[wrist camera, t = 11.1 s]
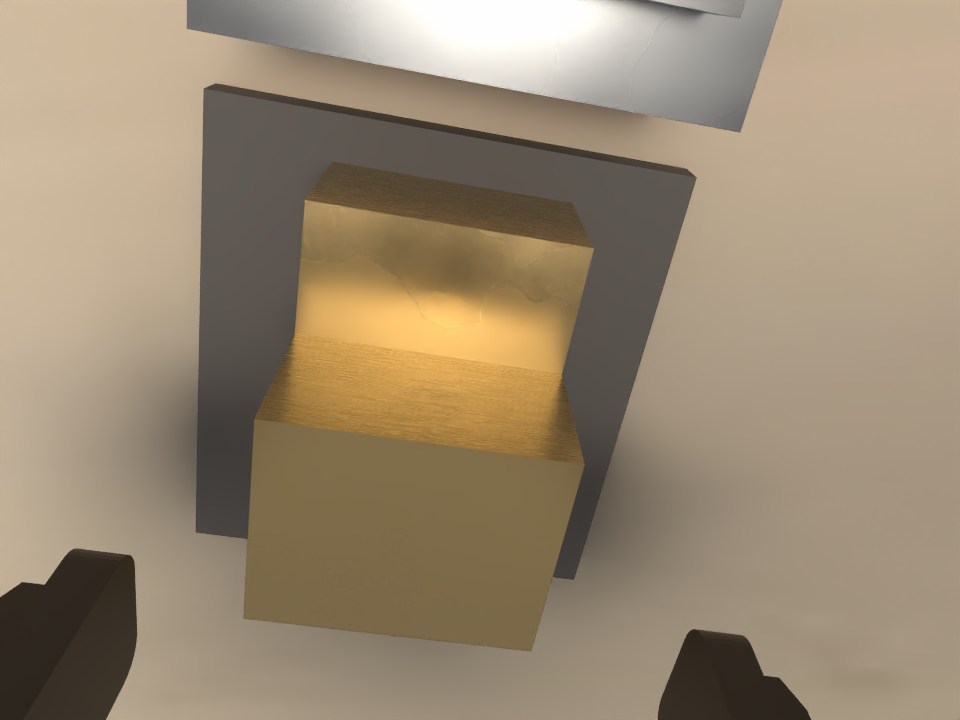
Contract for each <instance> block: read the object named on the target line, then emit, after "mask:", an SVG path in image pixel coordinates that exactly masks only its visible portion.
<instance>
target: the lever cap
mask: <svg viewBox="0 0 960 720" xmlns="http://www.w3.org/2000/svg"><path fill="white" fill-rule="evenodd" d="M593 251H594V247H593V245H592V243H591V241H590V239H589V237H588V235H587V233H586V231H585V229H584V226H583V224H582V222H581V220H580V218H579V216H578V214H577V212H576V210H575V208H574V206H573V204H572V203H569V202H564V201H558V200H552V199H546V198H541V197H535V196H529V195H523V194H517V193H512V192H506V191H500V190H494V189H488V188H483V187H477V186H471V185H465V184H459V183H454V182H448V181H442V180H436V179H431V178H425V177H419V176H413V175H407V174H402V173H396V172H390V171H384V170H378V169H373V168H367V167H361V166H355V165H349V164H344V163H338V162H332V163H331V164H330V166H329V167H328V168H327V170H326V171H325V173H324V174H323V175H322V177H321V178H320V180H319V181H318V183H317V184H316V185H315V187H314V188H313V190H312V191H311V192H310V194H309V195H308V197H307V198H306V199H305V206H304V219H303V232H302V245H301V258H300V271H299V284H298V297H297V310H296V323H295V334H294V336H293V338H292V340H291V343H290V345H289V347H288V349H287V351H286V353H285V355H284V357H283V359H282V362H281V364H280V366H279V368H278V370H277V372H276V374H275V376H274V378H273V381H272V383H271V385H270V387H269V389H268V391H267V393H266V395H265V397H264V400H263V402H262V404H261V406H260V408H259V410H258V412H257V414H256V416H255V419H254V435H253V453H252V471H251V490H250V508H249V527H248V545H247V564H246V582H245V601H244V619H253V620H261V621H270V622H279V623H288V624H296V625H305V626H314V627H323V628H331V629H340V630H349V631H357V632H366V633H375V634H384V635H392V636H401V637H410V638H419V639H427V640H436V641H445V642H454V643H462V644H471V645H480V646H489V647H497V648H506V649H515V650H524V651H532V647H533V644H534V640H535V637H536V633H537V630H538V626H539V623H540V619H541V616H542V612H543V609H544V605H545V602H546V598H547V595H548V591H549V588H550V584H551V581H552V577H553V574H554V570H555V567H556V563H557V560H558V556H559V553H560V549H561V546H562V542H563V539H564V536H565V532H566V529H567V525H568V522H569V518H570V515H571V511H572V508H573V504H574V501H575V497H576V494H577V490H578V487H579V483H580V480H581V476H582V473H583V469H584V466H585V464H584V460H583V456H582V452H581V448H580V444H579V440H578V436H577V432H576V428H575V424H574V420H573V416H572V412H571V408H570V404H569V400H568V396H567V392H566V387H565V383H564V379H563V375H562V373H563V369H564V365H565V361H566V357H567V353H568V349H569V345H570V341H571V337H572V333H573V329H574V325H575V321H576V318H577V314H578V310H579V306H580V302H581V298H582V294H583V290H584V286H585V282H586V278H587V274H588V270H589V266H590V263H591V259H592V255H593Z"/></svg>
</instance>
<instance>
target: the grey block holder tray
mask: <svg viewBox="0 0 960 720" xmlns="http://www.w3.org/2000/svg"><path fill="white" fill-rule="evenodd" d="M782 1H783V0H187V29H191V30H197V31H202V32H207V33H213V34H218V35H223V36H229V37H234V38H239V39H245V40H250V41H255V42H261V43H266V44H271V45H277V46H282V47H287V48H293V49H298V50H303V51H308V52H314V53H319V54H324V55H330V56H335V57H340V58H346V59H351V60H356V61H362V62H367V63H372V64H378V65H383V66H388V67H394V68H399V69H404V70H410V71H415V72H420V73H426V74H431V75H436V76H442V77H447V78H452V79H458V80H463V81H468V82H474V83H479V84H484V85H490V86H495V87H500V88H506V89H511V90H516V91H522V92H527V93H532V94H538V95H543V96H548V97H554V98H559V99H564V100H570V101H575V102H580V103H586V104H591V105H596V106H602V107H607V108H612V109H618V110H623V111H628V112H634V113H639V114H644V115H650V116H655V117H660V118H666V119H671V120H676V121H682V122H687V123H692V124H698V125H703V126H708V127H714V128H719V129H724V130H730V131H735V132H740V131H741V128H742V125H743V122H744V119H745V116H746V113H747V110H748V106H749V103H750V100H751V97H752V94H753V91H754V88H755V85H756V82H757V79H758V75H759V72H760V69H761V66H762V63H763V60H764V57H765V54H766V51H767V48H768V44H769V41H770V38H771V35H772V32H773V29H774V26H775V23H776V20H777V17H778V13H779V10H780V7H781V4H782Z"/></svg>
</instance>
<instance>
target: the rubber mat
mask: <svg viewBox="0 0 960 720" xmlns="http://www.w3.org/2000/svg"><path fill="white" fill-rule="evenodd" d="M332 162H338V163H344V164H349V165H355V166H361V167H367V168H373V169H378V170H384V171H390V172H396V173H402V174H407V175H413V176H419V177H425V178H431V179H436V180H442V181H448V182H454V183H459V184H465V185H471V186H477V187H483V188H488V189H494V190H500V191H506V192H512V193H517V194H523V195H529V196H535V197H541V198H546V199H552V200H558V201H564V202H569V203H572V204H573V206H574V208H575V210H576V212H577V214H578V216H579V218H580V220H581V222H582V224H583V226H584V229H585V231H586V233H587V235H588V237H589V239H590V241H591V243H592V245H593V247H594V251H593V255H592V259H591V263H590V266H589V270H588V274H587V278H586V282H585V286H584V290H583V294H582V298H581V302H580V306H579V310H578V314H577V318H576V321H575V325H574V329H573V333H572V337H571V341H570V345H569V349H568V353H567V357H566V361H565V365H564V369H563V373H562V375H563V379H564V383H565V387H566V392H567V396H568V400H569V404H570V408H571V412H572V416H573V420H574V424H575V428H576V432H577V436H578V440H579V444H580V448H581V452H582V456H583V460H584V464H585V466H584V469H583V473H582V476H581V480H580V483H579V487H578V490H577V494H576V497H575V501H574V504H573V508H572V511H571V515H570V518H569V522H568V525H567V529H566V532H565V536H564V539H563V542H562V546H561V549H560V553H559V556H558V560H557V563H556V567H555V570H554V574H553V577H556V578H564V579H572V580H574V577H575V574H576V571H577V568H578V564H579V561H580V558H581V555H582V551H583V548H584V545H585V541H586V538H587V535H588V532H589V528H590V525H591V522H592V519H593V515H594V512H595V509H596V505H597V502H598V499H599V496H600V492H601V489H602V486H603V483H604V479H605V476H606V473H607V469H608V466H609V463H610V460H611V456H612V453H613V450H614V447H615V443H616V440H617V437H618V433H619V430H620V427H621V424H622V420H623V417H624V414H625V411H626V407H627V404H628V401H629V397H630V394H631V391H632V388H633V384H634V381H635V378H636V375H637V371H638V368H639V365H640V361H641V358H642V355H643V352H644V348H645V345H646V342H647V339H648V335H649V332H650V329H651V325H652V322H653V319H654V316H655V312H656V309H657V306H658V303H659V299H660V296H661V293H662V289H663V286H664V283H665V280H666V276H667V273H668V270H669V267H670V263H671V260H672V257H673V253H674V250H675V247H676V244H677V240H678V237H679V234H680V231H681V227H682V224H683V221H684V217H685V214H686V211H687V208H688V204H689V201H690V198H691V194H692V191H693V188H694V185H695V181H696V177H695V176H694V175H693V174H692V173H691V172H689V171H688V170H687V169H684V168H678V167H673V166H667V165H662V164H656V163H650V162H645V161H639V160H634V159H628V158H623V157H617V156H612V155H606V154H601V153H595V152H590V151H584V150H579V149H573V148H568V147H562V146H557V145H551V144H546V143H540V142H535V141H529V140H524V139H518V138H513V137H507V136H502V135H496V134H491V133H485V132H480V131H474V130H469V129H463V128H458V127H452V126H447V125H441V124H436V123H430V122H425V121H419V120H414V119H408V118H403V117H397V116H391V115H386V114H380V113H375V112H369V111H364V110H358V109H353V108H347V107H342V106H336V105H331V104H325V103H320V102H314V101H309V100H303V99H298V98H292V97H287V96H281V95H276V94H270V93H265V92H259V91H254V90H248V89H243V88H237V87H232V86H226V85H221V84H214V85H211V86H209V87H207V88H204V101H203V157H202V213H201V269H200V325H199V381H198V436H197V492H196V532H197V533H205V534H213V535H221V536H229V537H237V538H245V539H248V527H249V508H250V490H251V471H252V453H253V435H254V419H255V416H256V414H257V412H258V410H259V408H260V406H261V404H262V402H263V400H264V397H265V395H266V393H267V391H268V389H269V387H270V385H271V383H272V381H273V378H274V376H275V374H276V372H277V370H278V368H279V366H280V364H281V362H282V359H283V357H284V355H285V353H286V351H287V349H288V347H289V345H290V343H291V340H292V338H293V336H294V334H295V323H296V310H297V297H298V284H299V271H300V258H301V245H302V232H303V219H304V206H305V199H306V198H307V197H308V195H309V194H310V192H311V191H312V190H313V188H314V187H315V185H316V184H317V183H318V181H319V180H320V178H321V177H322V175H323V174H324V173H325V171H326V170H327V168H328V167H329V166H330V164H331V163H332Z"/></svg>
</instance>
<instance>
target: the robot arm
mask: <svg viewBox="0 0 960 720" xmlns="http://www.w3.org/2000/svg"><path fill="white" fill-rule="evenodd" d="M136 641H137V617H136V589H135V565H134V560H133V558H132V556H130V555H124V554H116V553H108V552H100V551H92V550H85V549H77V548H76V549H73V550H71V551H70V552H69V553H68V554H67V555H66V556H65V557H64V559H63V560H62V561H61V563H60V564H59V566H58V567H57V568H56V570H55V571H54V573H53V574H52V575H51V577H50V578H49V580H48V581H47V582H46V584H45V585H41V584H33V583H25V582H22V583H20V584H19V585H17V586H16V587H15V588H13V589H12V590H10V591H9V592H7V593H6V594H4V595H3V596H2V597H0V720H106V718H107V716H108V714H109V712H110V710H111V708H112V706H113V704H114V703H115V701H116V699H117V697H118V695H119V693H120V691H121V689H122V687H123V685H124V682H125V680H126V678H127V676H128V673H129V670H130V667H131V664H132V661H133V657H134V653H135V648H136ZM658 720H811V718H810V716H809V714H808V712H807V710H806V709H805V707H804V706H803V705H802V704H801V703H800V702H799V700H798V699H797V698H796V697H795V696H794V695H793V693H792V692H791V691H790V690H789V689H788V688H787V686H786V685H785V684H784V683H783V682H782V680H781V679H780V678H777V677H769V676H764V675H763V673H762V670H761V668H760V666H759V663H758V661H757V658H756V656H755V653H754V651H753V649H752V646H751V644H750V642H749V641H748V640H747V638H745V637H744V636H742V635H735V634H727V633H719V632H712V631H704V630H696V629H693V630H691V631H690V632H689V633H688V634H687V636H686V638H685V640H684V643H683V645H682V648H681V650H680V653H679V655H678V658H677V660H676V663H675V665H674V668H673V670H672V673H671V675H670V678H669V680H668V683H667V685H666V688H665V690H664V693H663V695H662V698H661V701H660V705H659V712H658Z"/></svg>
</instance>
